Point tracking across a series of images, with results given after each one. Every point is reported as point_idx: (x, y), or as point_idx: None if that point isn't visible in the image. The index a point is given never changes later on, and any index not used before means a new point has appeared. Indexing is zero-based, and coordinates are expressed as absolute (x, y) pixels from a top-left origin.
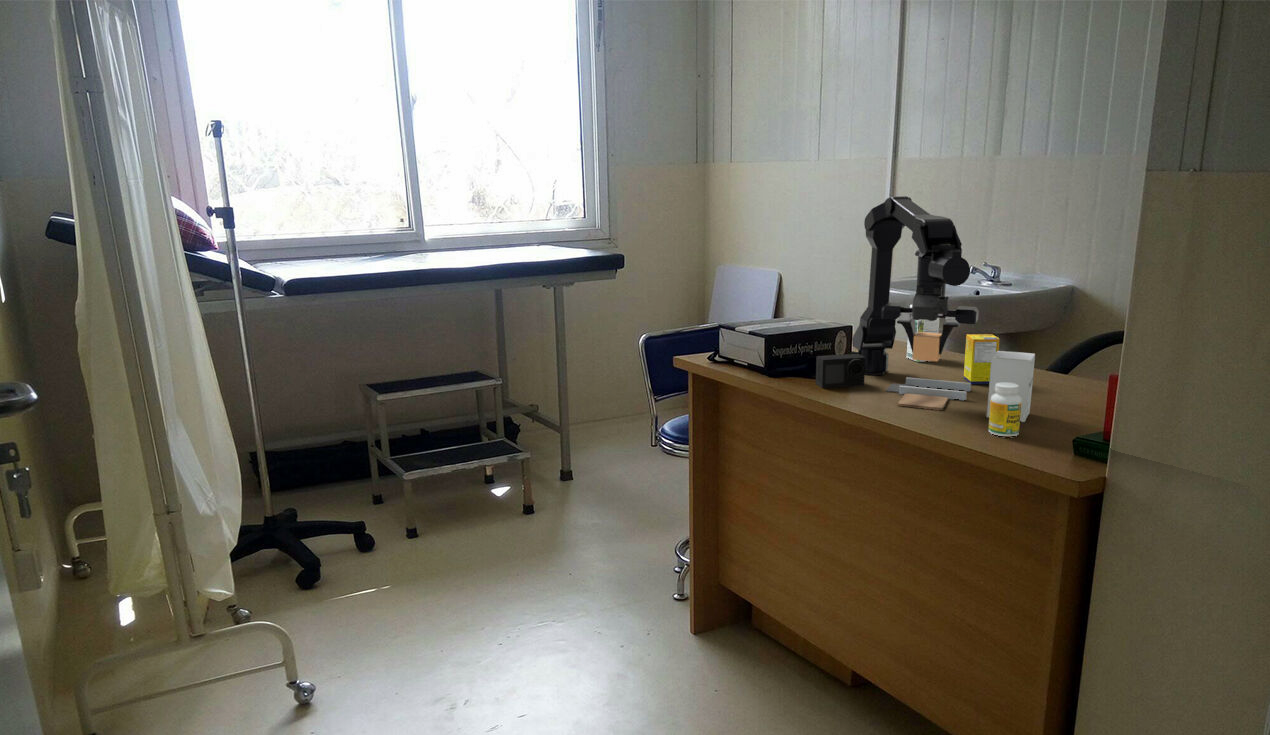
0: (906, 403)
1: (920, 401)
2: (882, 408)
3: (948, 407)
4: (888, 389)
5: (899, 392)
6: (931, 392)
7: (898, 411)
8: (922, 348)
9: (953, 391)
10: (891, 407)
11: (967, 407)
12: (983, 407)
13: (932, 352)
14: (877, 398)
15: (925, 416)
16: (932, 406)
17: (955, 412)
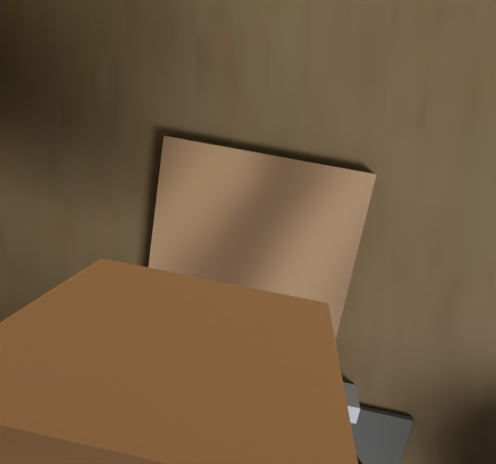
0: (331, 180)
1: (262, 233)
2: (454, 112)
3: (141, 202)
4: (401, 437)
5: (353, 388)
6: None
7: (374, 72)
8: (220, 343)
9: None
10: (405, 142)
11: (65, 220)
12: (5, 233)
13: (113, 298)
14: (463, 296)
15: (244, 9)
16: (208, 152)
17: (110, 122)
